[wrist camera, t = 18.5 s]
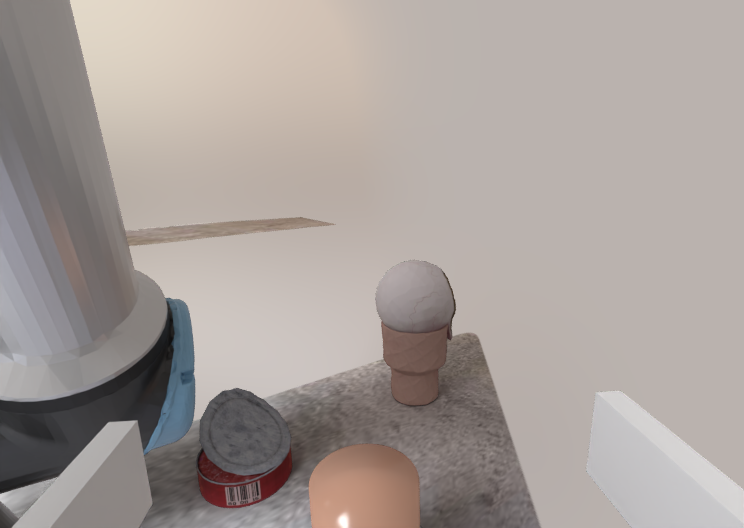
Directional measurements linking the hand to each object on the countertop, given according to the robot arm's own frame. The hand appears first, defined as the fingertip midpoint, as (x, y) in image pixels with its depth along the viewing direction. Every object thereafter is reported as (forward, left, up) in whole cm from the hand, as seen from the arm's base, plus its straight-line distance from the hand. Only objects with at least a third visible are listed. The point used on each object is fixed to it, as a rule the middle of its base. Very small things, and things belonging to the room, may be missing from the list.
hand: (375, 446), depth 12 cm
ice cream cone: (-33, +27, -25) cm, 50 cm away
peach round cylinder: (-10, +5, -23) cm, 26 cm away
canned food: (-31, +2, -25) cm, 40 cm away
